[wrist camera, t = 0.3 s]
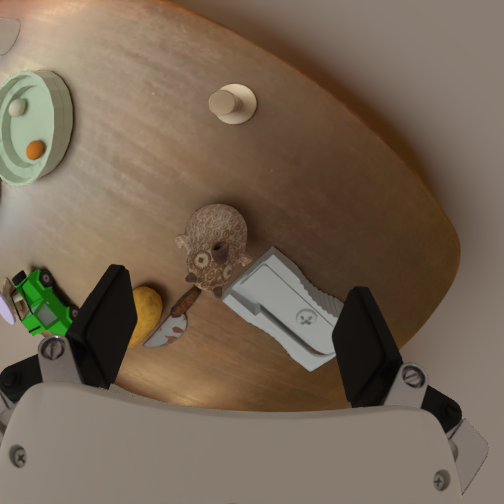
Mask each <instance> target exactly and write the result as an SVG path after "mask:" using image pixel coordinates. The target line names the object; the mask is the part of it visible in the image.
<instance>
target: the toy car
mask: <svg viewBox="0 0 504 504" xmlns="http://www.w3.org/2000/svg"><path fill="white" fill-rule="evenodd" d="M26 277H27V276H26V274H25V272H24V271H23V270H22V271H21V272H19V273H18V274H17V275H16V276H15V277H14V278H13V279H12V281H13V283H14V285H15V286H17V287H16V288H15V290H14V291H13V292H12V293H11V294H10V296H11V299H12V301H13V304H14V306H15V309H16V311H17V314H18V316H19V319H20V320H21V322H22V323H23V324H24V326H25V327H26V328H27V329H28V330H29V333H31V334H32V335H33V336H34V335H36V334H39V333H41V332H44V331H46V330H49V331H50V332H51V333H52V334H61V335H63V336H64V335H65V334H66V332H67V330H68V328H69V327H70V325H71V323H72V322H73V320H74V318H75V317H76V315H77V313H78V312H79V309H78V308H77V307H76V306H71V307H66V305H65V304H64V302H63V301H62V300H61V299H60V298H59V296H58V295H57V294H56V293H55V291H54V290H52V289H51V288H53V287H49V286H50V285H51V284H52V276H51V274H50V273H49V272H48V271H46V270H43V271H41V272H40V270H39V271H37V270H35V271H34V272H32V273H30V274H29V276H28V277H27V278H26ZM16 290H17V291H18V292H19V294H20V295H21V296H22V297H23V299H24V300H25V301H26V302H27V305H28V307H29V311H28V312H27V314H26V315H25V317H24V318H23V320H22V319H21V317H20V315H19V312H18V310H17V308H16V305H15V302H14V300H13V297H12V294H13V293H14V292H15V291H16ZM30 307H31V308H30Z"/></svg>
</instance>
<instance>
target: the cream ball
mask: <svg viewBox="0 0 504 504" xmlns="http://www.w3.org/2000/svg"><path fill="white" fill-rule="evenodd" d="M24 110H25V102H24V100H22V99H15V100H14V101H13V102H12V103H11V104H10V107H9V114H10V115H11V116H12V117H18V116H20V115H21V114H22V113H23V112H24Z"/></svg>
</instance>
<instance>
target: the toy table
mask: <svg viewBox="0 0 504 504" xmlns="http://www.w3.org/2000/svg"><path fill="white" fill-rule="evenodd" d="M10 288H11V285H10V283H9V281H8V279H7V278H5V279H4V282H3V293H1V292H0V313H1V315H2V316H3V317H4V319H5V320H7V322H9V323H10V324H11V325H13V324H14V323H15V322H16V318H15V315H14V312H13V310H16V309H15V306H14V304H13V301H12V299H11V297H10V296H9V295H10V293H9V290H10ZM22 299H23V297H22V296H21V295H20V294H19V293H17V294H16V295H15V296H13V300H14V302H15V305H16V308H17V310H21V309H22V306H21V304H20V302H19V301H20V300H22Z"/></svg>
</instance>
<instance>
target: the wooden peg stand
mask: <svg viewBox="0 0 504 504" xmlns="http://www.w3.org/2000/svg"><path fill="white" fill-rule="evenodd" d="M208 106H209V109H210V110H211V111H212V112H213V113H214V114H216V116H217V117H218V118H219V119H220V120H222V121H223V122H225V123H228V124H241V123H243V122H245V121H247V120H249V119H250V118H251V117H252V115H253V114H254V112H255V110H256V98H255V95H254V94H253V92H252V91H251V90H250V89H249V88H247V87H246V86H244V85H240V84H230V85H226V86H224V87H222V88H221V89H220V90H218V91H215V92H214V93H212V94H211V96H210V97H209V100H208Z"/></svg>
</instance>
